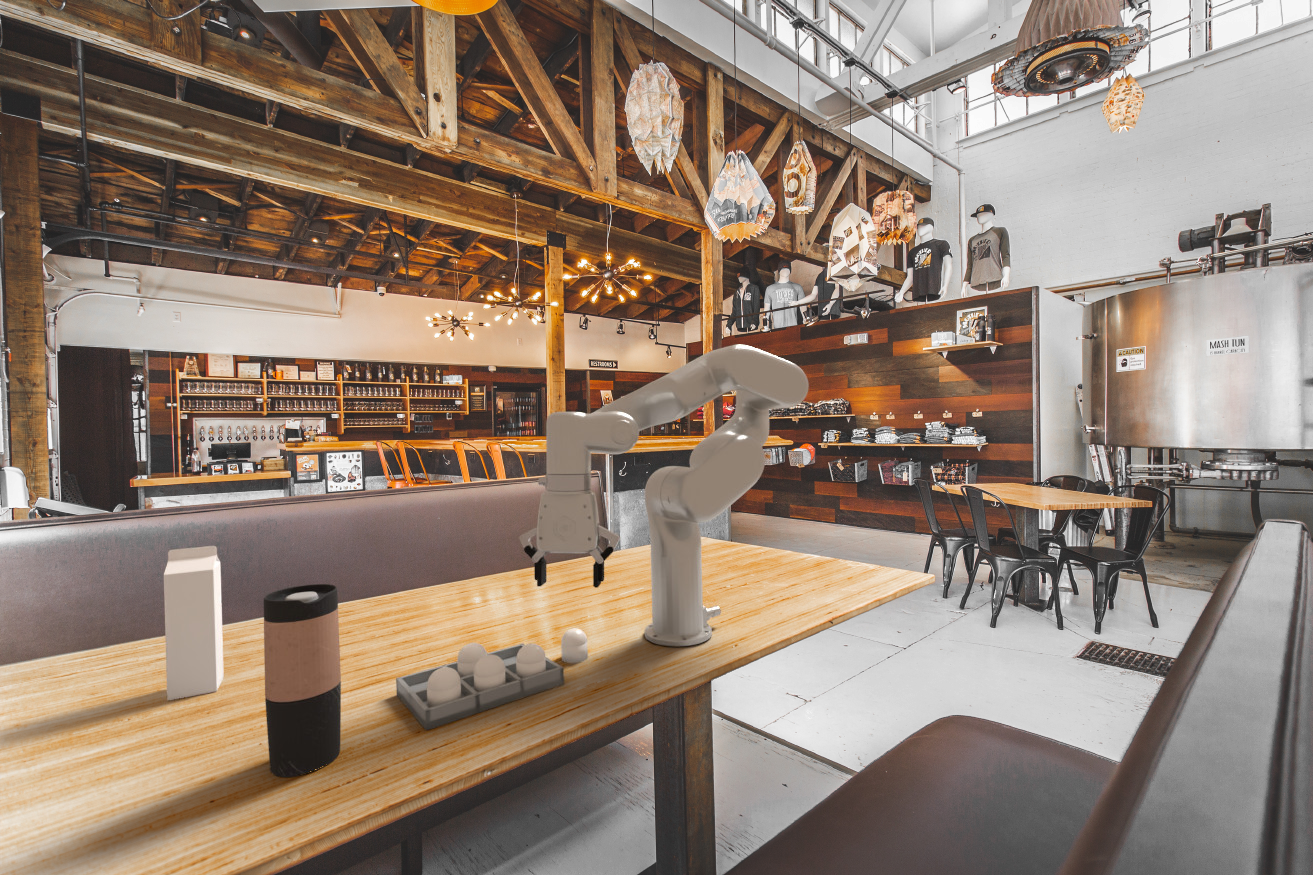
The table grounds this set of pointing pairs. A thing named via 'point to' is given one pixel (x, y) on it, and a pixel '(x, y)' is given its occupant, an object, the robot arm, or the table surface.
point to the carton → (477, 682)
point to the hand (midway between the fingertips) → (569, 584)
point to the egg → (574, 646)
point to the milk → (193, 622)
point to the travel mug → (302, 678)
